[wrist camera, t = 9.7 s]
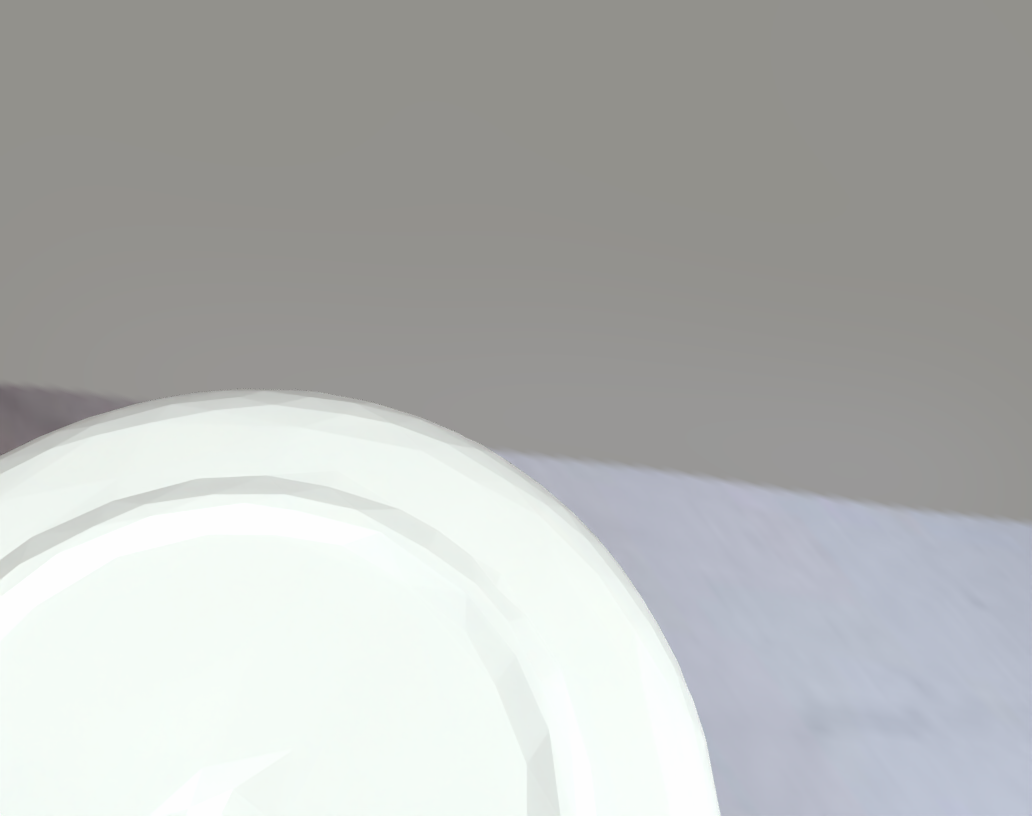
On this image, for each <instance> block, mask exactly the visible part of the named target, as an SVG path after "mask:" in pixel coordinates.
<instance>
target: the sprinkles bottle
mask: <svg viewBox="0 0 1032 816" xmlns="http://www.w3.org/2000/svg"><path fill="white" fill-rule="evenodd" d="M0 816H720V811H719V805H718V800H717V795H716V790H715V784H714V779H713V774H712V769H711V764H710V758H709V753H708V748H707V743H706V738H705V735H704V732H703V729H702V726H701V723H700V720H699V717H698V714H697V711H696V707H695V704H694V701H693V699H692V697H691V694H690V692H689V690H688V688H687V685H686V682H685V680H684V677H683V674H682V671H681V669H680V666H679V664H678V662H677V660H676V658H675V656H674V654H673V652H672V650H671V648H670V646H669V644H668V643H667V641H666V639H665V637H664V635H663V633H662V631H661V629H660V627H659V625H658V624H657V622H656V620H655V619H654V617H653V615H652V614H651V612H650V611H649V609H648V607H647V606H646V604H645V602H644V601H643V599H642V598H641V596H640V594H639V593H638V591H637V590H636V589H635V587H634V586H633V584H632V583H631V581H630V580H629V578H628V577H627V575H626V574H625V572H624V571H623V569H622V568H621V566H620V565H619V564H618V563H617V561H616V560H615V559H614V558H613V556H612V555H611V554H610V553H609V552H608V550H607V549H606V548H605V547H604V545H603V544H602V543H601V542H600V540H599V539H598V538H597V537H596V536H595V535H594V534H593V533H592V532H591V531H590V530H589V529H588V528H587V527H586V526H585V525H584V524H583V523H582V522H581V520H580V519H579V518H578V517H577V516H576V515H575V514H574V513H573V512H572V511H571V510H569V509H568V508H567V507H566V506H565V505H564V504H562V503H561V502H560V501H559V500H558V499H557V498H556V497H554V496H553V495H552V494H551V493H550V492H549V491H547V490H546V489H545V488H544V487H543V486H542V485H540V484H539V483H538V482H536V481H535V480H533V479H532V478H531V477H529V476H528V475H526V474H525V473H524V472H522V471H521V470H519V469H518V468H517V467H515V466H514V465H512V464H511V463H509V462H508V461H506V460H505V459H503V458H502V457H500V456H499V455H497V454H496V453H494V452H492V451H491V450H489V449H488V448H486V447H485V446H483V445H481V444H480V443H477V442H475V441H473V440H471V439H468V438H466V437H464V436H461V435H460V434H459V433H457V432H455V431H452V430H450V429H448V428H445V427H443V426H441V425H438V424H436V423H433V422H431V421H429V420H426V419H424V418H422V417H419V416H416V415H412V414H409V413H406V412H402V411H399V410H396V409H393V408H389V407H386V406H383V405H380V404H376V403H373V402H369V401H364V400H359V399H354V398H348V397H343V396H338V395H333V394H327V393H322V392H314V391H304V390H274V389H273V390H272V389H271V390H270V389H230V390H218V391H206V392H195V393H189V394H184V395H177V396H171V397H165V398H160V399H155V400H150V401H146V402H142V403H137V404H133V405H130V406H126V407H123V408H119V409H116V410H113V411H109V412H106V413H102V414H99V415H95V416H92V417H88V418H85V419H83V420H80V421H78V422H75V423H73V424H70V425H68V426H65V427H63V428H60V429H58V430H55V431H53V432H50V433H48V434H45V435H43V436H40V437H38V438H36V439H34V440H32V441H30V442H28V443H26V444H24V445H21V446H19V447H17V448H15V449H13V450H11V451H9V452H7V453H5V454H3V455H1V456H0Z"/></svg>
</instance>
